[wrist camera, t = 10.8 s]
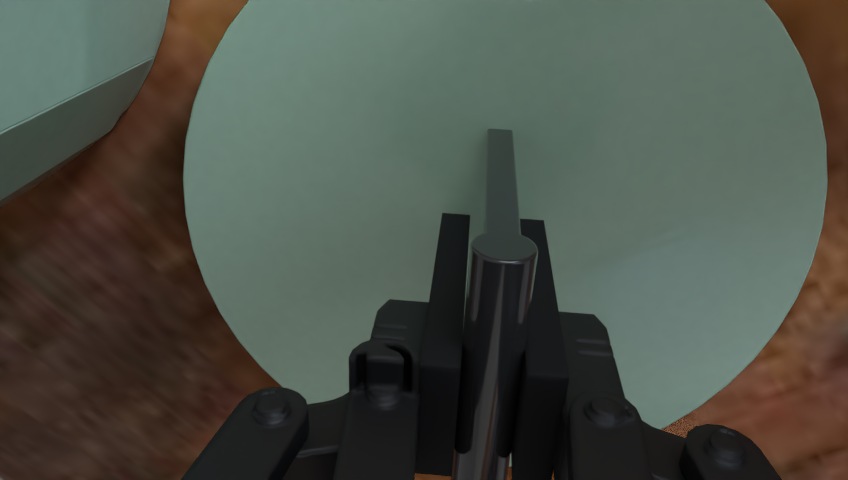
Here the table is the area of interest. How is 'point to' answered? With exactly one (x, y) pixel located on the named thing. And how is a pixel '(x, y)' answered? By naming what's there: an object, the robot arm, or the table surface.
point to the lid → (508, 186)
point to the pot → (67, 79)
